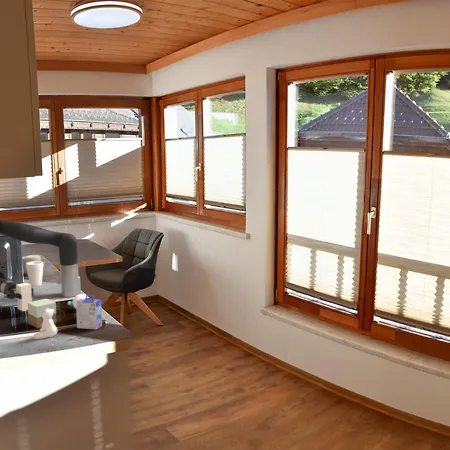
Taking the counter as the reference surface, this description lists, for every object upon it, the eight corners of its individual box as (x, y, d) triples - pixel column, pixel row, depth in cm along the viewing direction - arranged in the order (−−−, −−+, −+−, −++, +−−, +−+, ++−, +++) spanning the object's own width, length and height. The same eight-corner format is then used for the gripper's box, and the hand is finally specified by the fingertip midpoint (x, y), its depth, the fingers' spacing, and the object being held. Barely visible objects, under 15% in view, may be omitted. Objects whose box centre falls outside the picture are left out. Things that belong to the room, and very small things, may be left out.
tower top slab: (47, 308, 235) (46, 298, 234) (56, 313, 228) (55, 302, 228) (28, 313, 228) (27, 302, 228) (37, 317, 222) (36, 306, 221)
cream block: (28, 306, 245) (26, 282, 243) (32, 308, 241) (31, 284, 240) (17, 309, 241) (16, 284, 239) (22, 311, 238) (20, 286, 236)
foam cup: (47, 283, 296) (46, 262, 295) (34, 287, 289) (33, 265, 287) (37, 281, 301) (36, 260, 300) (23, 285, 294) (22, 263, 292)
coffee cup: (38, 276, 313) (37, 257, 312) (23, 276, 313) (22, 257, 312) (44, 273, 323) (43, 254, 321) (29, 273, 323) (28, 254, 321)
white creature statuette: (41, 331, 219) (40, 304, 217) (61, 331, 219) (60, 305, 217) (32, 339, 210) (31, 311, 208) (53, 339, 209) (51, 312, 208)
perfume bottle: (82, 306, 242) (61, 307, 245) (91, 312, 249) (70, 313, 252) (85, 291, 245) (64, 292, 249) (94, 297, 252) (73, 298, 255)
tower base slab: (46, 319, 236) (46, 308, 235) (56, 323, 229) (55, 313, 229) (28, 323, 229) (27, 313, 228) (37, 328, 223) (36, 317, 222)
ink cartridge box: (102, 325, 226) (101, 294, 224) (97, 329, 221) (96, 297, 218) (82, 324, 228) (81, 293, 226) (76, 328, 223) (75, 296, 220)
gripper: (-5, 284, 244) (11, 291, 233) (24, 278, 255) (40, 284, 243) (-3, 299, 245) (12, 306, 234) (25, 293, 256) (41, 299, 244)
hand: (26, 295), depth 238 cm, fingers closed on cream block, 5 cm apart
